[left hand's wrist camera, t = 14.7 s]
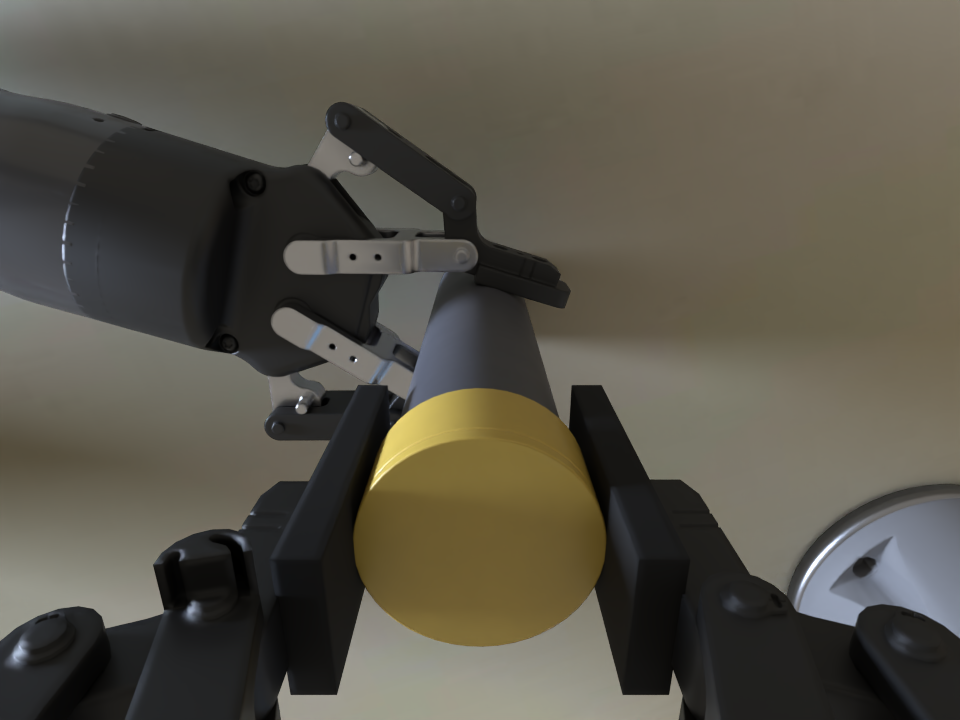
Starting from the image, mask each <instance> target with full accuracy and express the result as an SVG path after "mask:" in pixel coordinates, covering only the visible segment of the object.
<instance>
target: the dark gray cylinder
mask: <svg viewBox="0 0 960 720" xmlns="http://www.w3.org/2000/svg"><path fill="white" fill-rule="evenodd" d="M473 388H486V389H497V390H503V391H508V392H511V393H515V394H518V395H521V396H524V397H526V398H528V399H531V400H533V401H535V402H537V403H539V404H540V405H542V406H544V407H545V408H547V409H548V410H549V411H551V412H552V413H553V414H554V415H556V416H557V417H558V418H559V416H558V413H557V409H556V406H555V402H554V399H553V396H552V392H551V389H550V385H549V382H548V378H547V375H546V372H545V368H544V365H543V361H542V358H541V355H540V351H539V348H538V344H537V341H536V338H535V334H534V331H533V327H532V324H531V321H530V317H529V314H528V310H527V307H526V303H525V300H524V297H520V296H517V295H514V294H510V293H507V292H504V291H501V290H498V289H495V288H491V287H487V286H484V285H481V284H477V283H474V275H471V274H468V273H465V272H445V273H444V275H443V277H442V279H441V282H440V285H439V288H438V292H437V295H436V299H435V302H434V305H433V309H432V312H431V316H430V319H429V322H428V326H427V329H426V333H425V336H424V339H423V343H422V346H421V350H420V353H419V356H418V360H417V363H416V367H415V370H414V373H413V377H412V380H411V383H410V387H409V390H408V394H407V397H406V400H405V404H404V407H403V411H402V414H401V417H400V418H402V417H403V416H404V415H405V414H406V413H407V412H408V411H410V410H411V409H413V408H414V407H416V406H418V405H419V404H421V403H423V402H425V401H427V400H429V399H431V398H433V397H436V396H438V395H441V394H444V393H447V392H452V391H457V390H462V389H473Z"/></svg>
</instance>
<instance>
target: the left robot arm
mask: <svg viewBox="0 0 960 720" xmlns="http://www.w3.org/2000/svg"><path fill="white" fill-rule="evenodd" d="M390 429H391V428H390V411H389V395H388V385H358V387H357V389H356V391H355V393H354V395H353V397H352V398H351V400H350V402H349V404H348V406H347V408H346V410H345V412H344V414H343V416H342V418H341V420H340V422H339V424H338V426H337V428H336V430H335V432H334V434H333V436H332V438H331V440H330V442H329V443H328V445H327V447H326V449H325V451H324V453H323V455H322V457H321V459H320V461H319V463H318V465H317V467H316V469H315V471H314V473H313V475H312V477H311V479H310V481H280V482H278V483H277V484H276V485H274V486H273V487H272V488H270V489H269V490H268V491H266V492H265V493H264V494H262V495H261V496H260V498H259V499H258V501H257V503H256V504H255V506H254V507H253V509H252V511H251V514H250V515H248V517H247V519H246V520H245V522H244V523H243V525H242V529H240V530H239V531H234V530H230V529H215V530H208V531H204V532H200V533H196V534H193V535H191V536H188V537H186V538H184V539H182V540H180V541H177V542H176V543H174V544H173V545H172V546H170V547H169V548H168V549H166V550H165V551H164V552H162V553H161V555H160V556H159V558H158V559H157V560H156V562H155V563H154V564H153V566H154V570H155V575H156V579H157V583H158V587H159V591H160V595H161V599H162V603H163V607H164V613H163V614H161V615H158V616H155V617H151V618H148V619H144V620H140V621H136V622H132V623H128V624H123V625H119V626H115V627H111V628H106V629H105V626H104V623H103V619H102V616H101V615H99V614H98V613H97V612H96V611H95V610H94V609H91V608H85V607H79V606H77V607H70V608H62V609H57V610H54V611H52V612H49V613H46V614H43V615H40V616H37V617H35V618H34V619H32V620H30V621H28V622H26V623H25V624H23V625H21V626H19V627H17V628H16V629H15V630H13V631H12V632H11V633H10V634H8V635H7V636H6V637H5V638H4V639H2V640H1V641H0V720H281V717H280V710H279V704H278V698H277V696H278V694H279V691H280V688H281V686H282V683H283V680H284V677H285V675H286V672H287V675H288V681H289V687H290V693H291V695H337V692H338V688H339V685H340V681H341V677H342V673H343V669H344V665H345V662H346V658H347V654H348V650H349V646H350V643H351V639H352V635H353V631H354V627H355V623H356V620H357V616H358V612H359V608H360V604H361V600H362V597H363V593H364V589H365V585H364V584H363V582H362V580H361V578H360V575H359V572H358V570H357V567H356V563H355V554H354V543H353V529H354V523H355V519H356V516H357V512H358V509H359V506H360V503H361V500H362V497H363V494H364V491H365V488H366V485H367V482H368V479H369V476H370V473H371V470H372V467H373V464H374V461H375V458H376V455H377V453H378V450H379V448H380V446H381V444H382V442H383V440H384V438H385V437H386V435H387V434H388V432H389V431H390ZM569 430H570V432H571V433H572V434H573V436H574V437H575V439H576V441H577V443H578V445H579V447H580V449H581V452H582V455H583V457H584V460H585V463H586V466H587V469H588V472H589V475H590V478H591V481H592V484H593V487H594V490H595V493H596V496H597V499H598V502H599V505H600V508H601V511H602V514H603V517H604V521H605V527H606V532H607V536H606V550H605V560H604V564H603V568H602V571H601V574H600V576H599V578H598V580H597V583H596V585H595V590H596V594H597V598H598V602H599V605H600V609H601V613H602V617H603V621H604V625H605V628H606V632H607V636H608V640H609V644H610V648H611V651H612V655H613V659H614V663H615V667H616V671H617V674H618V678H619V682H620V686H621V690H622V694H623V695H669V691H670V685H671V679H672V673H673V670H674V673H675V676H676V678H677V681H678V684H679V686H680V689H681V692H682V695H683V698H682V704H681V710H680V715H679V720H960V485H955V484H938V485H927V486H920V487H914V488H910V489H906V490H902V491H898V492H895V493H892V494H889V495H886V496H883V497H881V498H878V499H876V500H873V501H871V502H869V503H867V504H865V505H863V506H861V507H859V508H858V509H856V510H854V511H853V512H851V513H849V514H848V515H846V516H845V517H843V518H842V519H840V520H839V521H838V522H836V523H835V524H834V525H833V526H831V527H830V528H829V529H828V530H827V531H826V532H824V533H823V534H822V535H821V536H820V537H819V538H818V539H817V540H816V542H815V543H814V544H813V545H812V546H811V547H810V548H809V550H808V551H807V552H806V554H805V555H804V557H803V558H802V560H801V561H800V563H799V565H798V566H797V568H796V570H795V572H794V574H793V577H792V579H791V582H790V585H789V589H788V593H787V596H786V595H785V594H783V593H782V592H781V591H780V590H779V589H778V588H776V587H775V586H774V585H772V584H770V583H768V582H766V581H764V580H762V579H760V578H759V577H756V576H752V575H750V574H749V572H748V571H747V569H746V567H745V566H744V564H743V563H742V561H741V559H740V558H739V556H738V555H737V553H736V552H735V550H734V548H733V547H732V545H731V544H730V542H729V540H728V539H727V537H726V536H725V534H724V533H723V531H722V529H721V528H719V527H718V523H717V521H716V520H715V518H714V517H713V515H712V514H710V512H709V509H708V507H707V506H706V504H705V503H704V501H703V499H702V498H701V496H700V495H699V493H697V492H696V491H695V490H693V489H692V488H691V487H689V486H688V485H687V484H685V483H684V482H683V481H681V480H650V479H649V477H648V475H647V474H646V472H645V470H644V468H643V466H642V464H641V462H640V460H639V458H638V456H637V454H636V452H635V450H634V448H633V446H632V444H631V442H630V440H629V438H628V436H627V434H626V432H625V430H624V428H623V427H622V425H621V423H620V421H619V419H618V417H617V415H616V413H615V411H614V409H613V407H612V405H611V403H610V401H609V399H608V397H607V395H606V393H605V391H604V389H603V387H602V385H572V390H571V406H570V423H569Z"/></svg>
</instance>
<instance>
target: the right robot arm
mask: <svg viewBox="0 0 960 720" xmlns="http://www.w3.org/2000/svg"><path fill="white" fill-rule="evenodd" d="M325 122H326V126H327V131H326V133H325V135H324V136H323V138H322V140H321V142H320V144H319V145H318V147H317V149H316V151H315V153H314V154H313V156H312V158H311V160H310V162H309V164H304V165H294V166H291V167H287V168H281V167H274V166H270V165H267V164H263V163H260V162H257V161H254V160H251V159H247V158H244V157H241V156H238V155H235V154H231V153H228V152H225V151H222V150H219V149H215V148H212V147H209V146H206V145H203V144H199V143H196V142H193V141H190V140H187V139H184V138H180V137H177V136H174V135H171V134H167V133H164V132H161V131H158V130H155V129H152V128H148V127H145V126H142V124H140V123H138V122H136V121H134V120H132V119H129V118H126V117H124V116H120V115H117V114H104V113H100V112H97V111H94V110H91V109H87V108H84V107H80V106H76V105H73V104H69V103H65V102H59V101H54V100H49V99H43V98H37V97H31V96H25V95H20V94H17V93H13V92H9V91H6V90H3V89H0V290H1V291H3V292H6V293H9V294H11V295H14V296H16V297H19V298H21V299H24V300H27V301H31V302H34V303H37V304H40V305H44V306H48V307H51V308H55V309H59V310H62V311H66V312H70V313H73V314H77V315H81V316H84V317H88V318H92V319H95V320H99V321H102V322H106V323H110V324H113V325H117V326H120V327H124V328H127V329H131V330H135V331H138V332H142V333H145V334H149V335H153V336H156V337H160V338H163V339H167V340H171V341H174V342H178V343H182V344H185V345H189V346H192V347H196V348H200V349H204V350H209V351H216V352H223V353H229V354H233V355H236V356H238V357H240V358H242V359H243V360H245V361H246V362H248V363H249V364H250V365H251V366H252V367H254V368H255V369H256V370H257V371H259V372H260V373H262V374H264V375H267V376H268V380H269V387H270V394H271V401H272V407H273V411H272V413H271V414H270V415H269V417H268V418H267V419H266V421H265V424H264V428H265V431H266V433H267V434H268V435H269V436H270V437H271V438H273V439H275V440H331V438H332V436H333V434H334V432H335V430H336V428H337V426H338V424H339V422H340V420H341V418H342V416H343V414H344V412H345V410H346V408H347V406H348V404H349V402H350V400H351V398H352V397H353V395H354V393H355V391H325V388H324V387H323V386H322V385H321V384H320V383H319V382H316V381H311V380H307V379H305V378H303V377H302V376H301V375H300V374H299V373H298V372H299V371H303V370H306V369H309V368H312V367H315V366H318V365H321V364H324V363H327V362H331V363H333V364H334V365H336V366H338V367H339V368H341V369H343V370H344V371H346V372H348V373H350V374H351V375H353V376H355V377H356V378H358V379H360V380H362V381H363V382H365V383H368V384H378V385H388V395H389V411H390V428H392V427H393V426H394V425H395V424H396V422H397V421H398V420H399V419H400V417H401V414H402V411H403V407H404V404H405V400H406V397H407V394H408V390H409V387H410V383H411V380H412V377H413V373H414V370H415V367H416V363H417V360H418V356H419V353H420V352H418V351H417V350H415V349H414V348H412V347H410V346H409V345H407V344H405V343H404V342H402V341H401V340H400V338H399V337H398V335H397V334H395V333H394V332H393V331H391V330H390V329H388V328H386V327H385V326H383V325H382V324H380V323H378V322H377V317H378V313H379V300H378V293H379V291H380V289H381V287H382V286H383V284H384V282H385V280H386V279H387V277H388V274H410V273H414V272H465V273H468V274H471V275H474V283H477V284H481V285H484V286H487V287H491V288H495V289H498V290H501V291H504V292H507V293H510V294H514V295H517V296H520V297H524V298H527V299H530V300H534V301H537V302H540V303H543V304H547V305H550V306H553V307H557V308H565V305H566V303H567V300H568V297H569V294H570V292H571V291H570V289H569V287H568V286H567V284H566V283H565V282H563V281H561V280H559V278H560V275H561V274H560V273H559V271H558V269H557V268H556V267H555V266H554V265H553V264H552V263H550V262H549V261H548V260H547V259H545V258H541V257H538V256H535V255H531V254H529V253H525V252H522V251H519V250H516V249H512V248H509V247H506V246H503V245H500V244H496V243H493V242H490V241H488V240H486V239H485V238H484V237H483V236H482V235H481V234H480V232H479V230H478V227H477V217H476V192H475V190H474V188H473V187H472V186H471V185H470V184H468V183H467V182H465V181H464V180H463V179H461V178H460V177H458V176H457V175H456V174H454V173H453V172H451V171H450V170H449V169H447V168H446V167H444V166H443V165H442V164H440V163H439V162H437V161H436V160H435V159H433V158H432V157H430V156H429V155H428V154H426V153H425V152H423V151H422V150H421V149H419V148H418V147H416V146H415V145H414V144H412V143H411V142H409V141H408V140H407V139H405V138H404V137H402V136H401V135H400V134H398V133H397V132H395V131H394V130H393V129H391V128H390V127H388V126H387V125H386V124H384V123H383V122H381V121H380V120H379V119H377V118H376V117H375V116H373V115H372V114H370V113H369V112H368V111H366V110H365V109H363V108H360V107H358V106H355V105H352V104H349V103H345V102H338V103H335V104H333V105H332V106H331V107H330V108H329V109H328V111H327V113H326V117H325ZM378 168H380V169H381V170H382V171H384V172H385V173H387V174H388V175H390V176H391V177H393V178H394V179H395V180H397V181H398V182H400V183H401V184H403V185H404V186H405V187H407V188H408V189H410V190H411V191H413V192H414V193H415V194H417V195H418V196H420V197H421V198H423V199H424V200H426V201H427V202H428V203H430V204H431V205H433V206H434V207H436V208H437V209H438V210H440V211H441V212H443V218H444V230H420V229H415V228H375V227H374V225H373V224H372V223H371V222H370V220H369V219H368V218H367V217H366V215H365V214H364V213H363V212H362V210H361V209H360V208H359V207H358V205H357V204H356V203H355V202H354V200H353V199H352V198H351V197H350V195H349V194H348V193H347V192H346V190H345V189H344V188H343V187H342V185H341V184H340V183H339V182H338V180H337V179H336V177H337V176H338V175H339V174H340V173H341V172H343V171H347V172H350V173H352V174H354V175H357V176H366V175H370V174H373V173H374V172H376V171H377V169H378ZM353 356H355V357H353Z"/></svg>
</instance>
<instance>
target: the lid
mask: <svg viewBox="0 0 960 720" xmlns="http://www.w3.org/2000/svg"><path fill="white" fill-rule="evenodd" d="M606 536H607V532H606V527H605V521H604V517H603V514H602V511H601V508H600V505H599V502H598V499H597V496H596V493H595V490H594V487H593V484H592V481H591V478H590V475H589V472H588V469H587V466H586V463H585V460H584V457H583V455H582V452H581V449H580V447H579V445H578V443H577V441H576V439H575V437H574V436H573V434H572V433H571V432H570V430H569V429H568V428H567V426H566V425H565V424H564V423H563V422H562V421H561V420H560V419H559V418H558V417H557V416H556V415H554V414H553V413H552V412H551V411H549V410H548V409H547V408H545V407H544V406H542V405H540V404H539V403H537V402H535V401H533V400H531V399H528V398H526V397H524V396H521V395H518V394H515V393H511V392H508V391H503V390H497V389H486V388H473V389H462V390H457V391H452V392H447V393H444V394H441V395H438V396H436V397H433V398H431V399H429V400H427V401H425V402H423V403H421V404H419V405H418V406H416V407H414V408H413V409H411V410H410V411H408V412H407V413H406V414H405V415H404V416H403V417H402V418H400V419H399V420H398V421H397V422H396V424H395V425H394V426H393V427H392V428H391V429H390V431H389V432H388V434H387V435H386V437H385V438H384V440H383V442H382V444H381V446H380V448H379V450H378V453H377V455H376V458H375V461H374V464H373V467H372V470H371V473H370V476H369V479H368V482H367V485H366V488H365V491H364V494H363V497H362V500H361V503H360V506H359V509H358V512H357V516H356V519H355V523H354V529H353V543H354V554H355V563H356V567H357V570H358V572H359V575H360V578H361V580H362V582H363V584H364V585H365V587H366V589H367V591H368V592H369V594H370V595H371V596H372V598H373V599H374V600H375V602H376V603H377V604H378V605H379V606H380V607H381V608H382V609H383V610H384V611H385V612H386V613H387V614H388V615H390V616H391V617H392V618H393V619H395V620H396V621H397V622H399V623H400V624H402V625H404V626H405V627H407V628H408V629H410V630H412V631H414V632H417V633H419V634H421V635H423V636H426V637H429V638H431V639H434V640H437V641H441V642H445V643H450V644H455V645H463V646H481V647H483V646H498V645H504V644H510V643H515V642H518V641H522V640H525V639H529V638H531V637H534V636H536V635H539V634H541V633H543V632H545V631H547V630H549V629H551V628H553V627H555V626H556V625H557V624H559V623H560V622H562V621H563V620H565V619H566V618H568V617H569V616H570V615H571V614H572V613H573V612H574V611H575V610H577V609H578V608H579V606H580V605H581V604H582V603H583V602H584V601H585V600H586V599H587V597H588V596H589V594H590V593H591V591H592V590H593V588H594V587H595V585H596V583H597V580H598V578H599V576H600V574H601V571H602V568H603V564H604V560H605V550H606Z"/></svg>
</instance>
